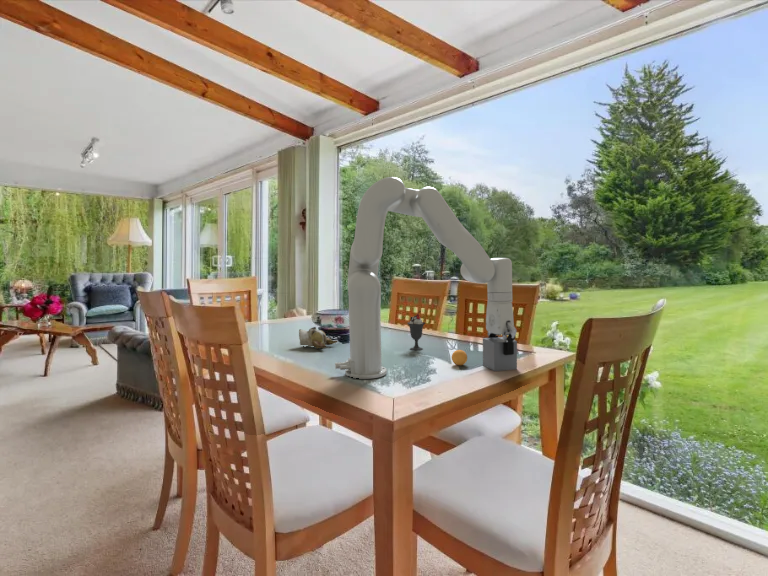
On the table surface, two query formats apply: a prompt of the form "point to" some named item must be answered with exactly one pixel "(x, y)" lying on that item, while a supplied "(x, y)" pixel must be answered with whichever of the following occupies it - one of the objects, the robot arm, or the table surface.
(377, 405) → the table surface
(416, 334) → the sundae
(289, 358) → the table surface
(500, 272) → the robot arm
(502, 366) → the grey matte cube
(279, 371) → the table surface
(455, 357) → the ball
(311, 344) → the ceramic sculpture
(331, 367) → the table surface
